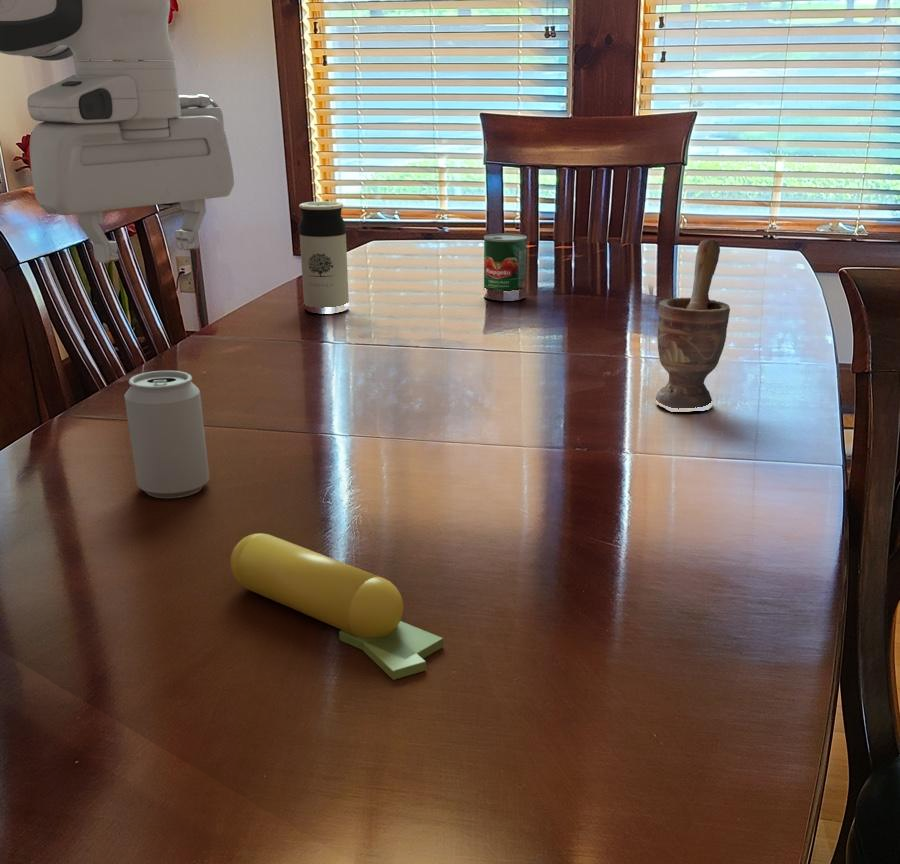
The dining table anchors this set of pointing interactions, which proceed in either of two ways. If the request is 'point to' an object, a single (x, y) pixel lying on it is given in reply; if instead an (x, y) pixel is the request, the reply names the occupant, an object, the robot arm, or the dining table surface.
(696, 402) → the mortar and pestle
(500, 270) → the canned tomato
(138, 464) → the can
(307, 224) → the travel mug
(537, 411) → the dining table surface
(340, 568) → the corn cob
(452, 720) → the dining table surface
